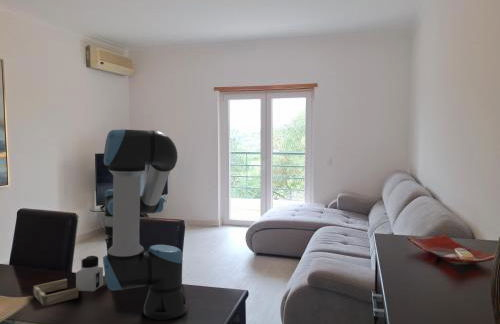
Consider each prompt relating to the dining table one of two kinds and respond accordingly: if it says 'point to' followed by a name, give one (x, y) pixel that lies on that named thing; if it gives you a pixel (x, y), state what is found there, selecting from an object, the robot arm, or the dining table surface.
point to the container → (89, 274)
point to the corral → (55, 297)
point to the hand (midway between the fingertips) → (114, 278)
